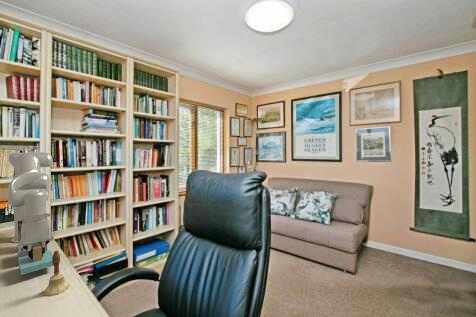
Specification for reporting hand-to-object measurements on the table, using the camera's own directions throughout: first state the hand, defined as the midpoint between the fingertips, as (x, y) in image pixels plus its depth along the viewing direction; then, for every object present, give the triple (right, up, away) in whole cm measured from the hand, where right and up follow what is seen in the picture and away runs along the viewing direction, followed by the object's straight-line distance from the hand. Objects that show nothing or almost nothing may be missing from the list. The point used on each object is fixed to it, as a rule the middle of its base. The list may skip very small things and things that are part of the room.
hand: (36, 256), depth 105 cm
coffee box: (-26, -6, +24) cm, 36 cm away
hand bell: (+21, -8, -14) cm, 26 cm away
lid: (0, -4, 0) cm, 4 cm away
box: (-13, -6, +12) cm, 19 cm away
